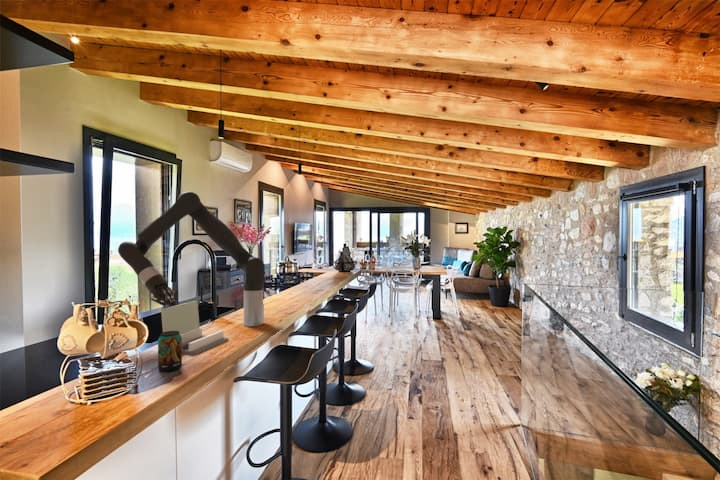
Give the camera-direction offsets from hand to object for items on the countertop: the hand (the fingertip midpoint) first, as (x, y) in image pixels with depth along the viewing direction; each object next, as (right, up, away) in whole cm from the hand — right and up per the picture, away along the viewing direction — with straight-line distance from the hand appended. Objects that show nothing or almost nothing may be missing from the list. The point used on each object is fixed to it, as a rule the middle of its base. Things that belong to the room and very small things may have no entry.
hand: (177, 310), depth 154 cm
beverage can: (+11, -14, -28) cm, 34 cm away
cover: (+2, -3, -1) cm, 4 cm away
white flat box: (+9, -13, -2) cm, 16 cm away
